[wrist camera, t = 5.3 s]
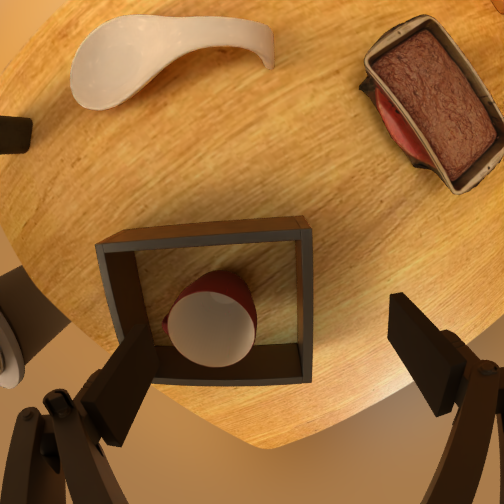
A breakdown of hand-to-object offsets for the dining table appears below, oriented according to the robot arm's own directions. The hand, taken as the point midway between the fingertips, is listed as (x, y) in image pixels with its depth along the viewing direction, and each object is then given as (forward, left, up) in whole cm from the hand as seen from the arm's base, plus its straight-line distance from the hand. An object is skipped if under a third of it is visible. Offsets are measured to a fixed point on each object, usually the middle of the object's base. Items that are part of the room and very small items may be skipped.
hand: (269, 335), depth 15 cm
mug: (-7, -6, -20) cm, 21 cm away
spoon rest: (-10, +22, -20) cm, 31 cm away
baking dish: (+19, +15, -20) cm, 32 cm away
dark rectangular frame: (-7, -6, -19) cm, 21 cm away
